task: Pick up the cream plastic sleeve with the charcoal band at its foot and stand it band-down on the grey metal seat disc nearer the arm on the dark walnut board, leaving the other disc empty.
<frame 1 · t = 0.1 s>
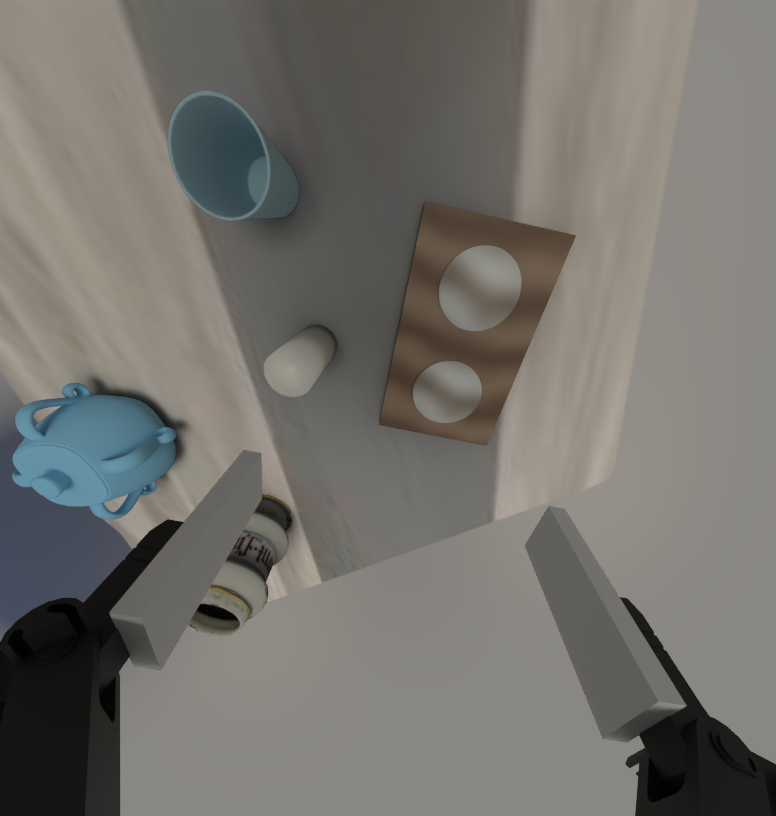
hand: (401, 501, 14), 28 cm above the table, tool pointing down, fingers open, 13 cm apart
cup: (274, 187, 32), on the table
seat board: (459, 342, 38), on the table
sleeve: (318, 344, 39), on the table
decorative pot: (136, 428, 48), on the table
apothecary jar: (266, 513, 55), on the table
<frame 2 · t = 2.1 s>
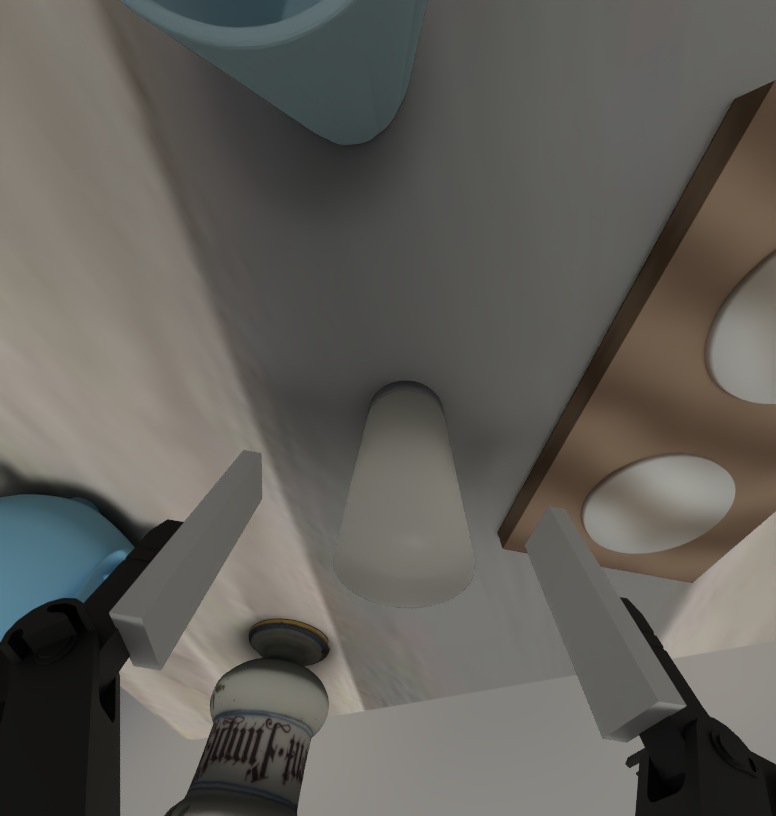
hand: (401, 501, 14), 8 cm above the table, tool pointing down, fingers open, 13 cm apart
cup: (346, 63, 12), on the table
seat board: (696, 415, 19), on the table
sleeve: (405, 414, 20), on the table
decorative pot: (81, 532, 29), on the table
apothecary jar: (290, 638, 36), on the table
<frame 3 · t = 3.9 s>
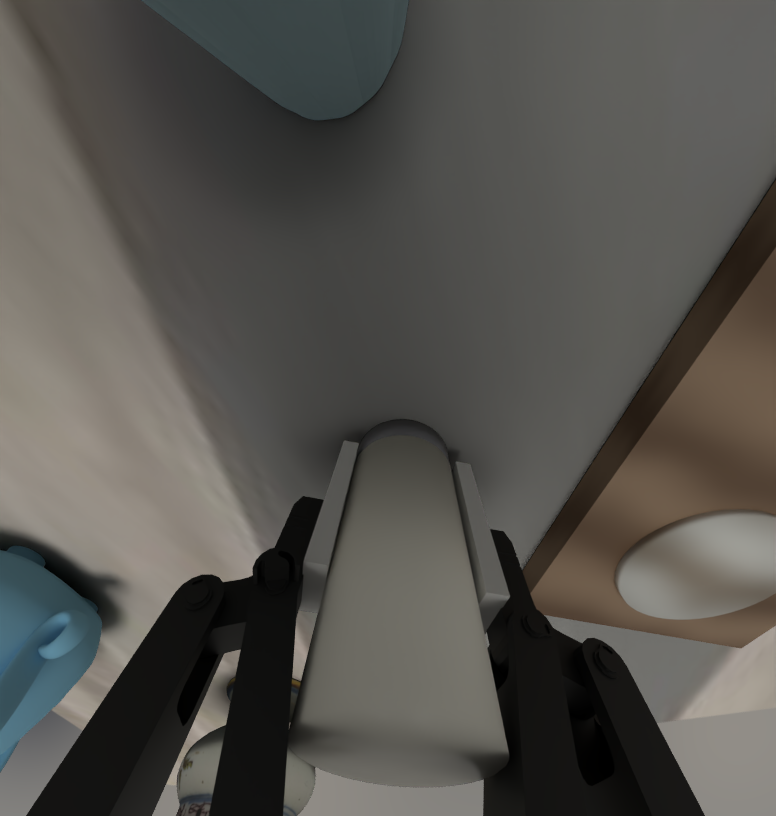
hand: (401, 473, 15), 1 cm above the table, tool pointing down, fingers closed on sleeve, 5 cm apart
cup: (318, 5, 9), on the table
seat board: (759, 461, 15), on the table
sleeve: (402, 458, 16), on the table, touching gripper
decorative pot: (28, 582, 25), on the table
apothecary jar: (274, 691, 32), on the table
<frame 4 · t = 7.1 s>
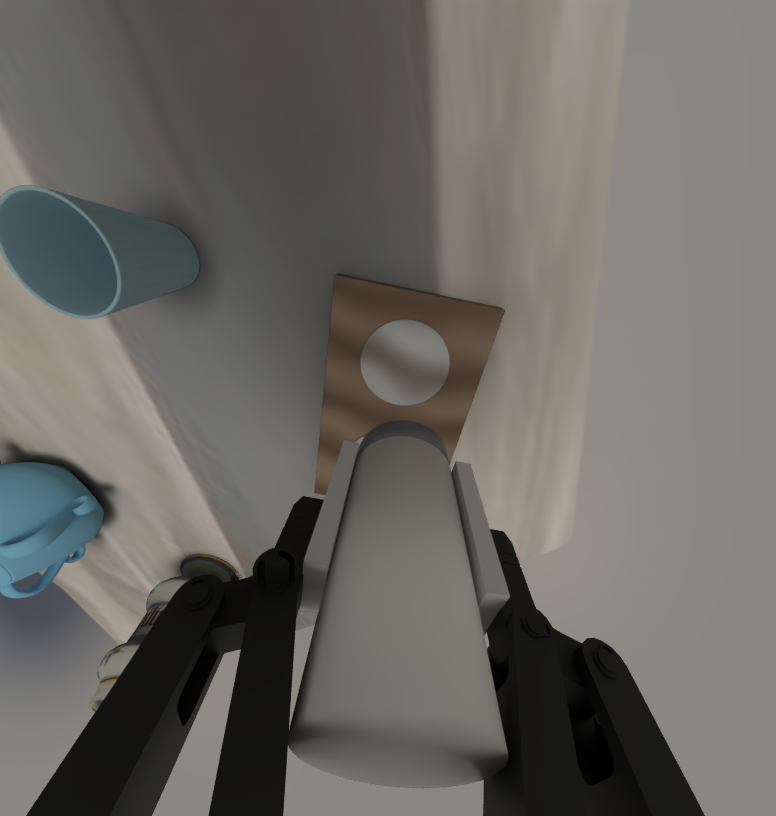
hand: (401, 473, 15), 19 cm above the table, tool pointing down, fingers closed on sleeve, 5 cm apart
cup: (172, 256, 29), on the table
seat board: (393, 411, 35), on the table
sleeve: (402, 459, 17), point 17 cm above the table, touching gripper
decorative pot: (62, 490, 44), on the table
apothecary jar: (211, 571, 52), on the table
when the fingers open (4 cm above the table, at t = 10.4 s): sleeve stays where it is, resting on seat board.
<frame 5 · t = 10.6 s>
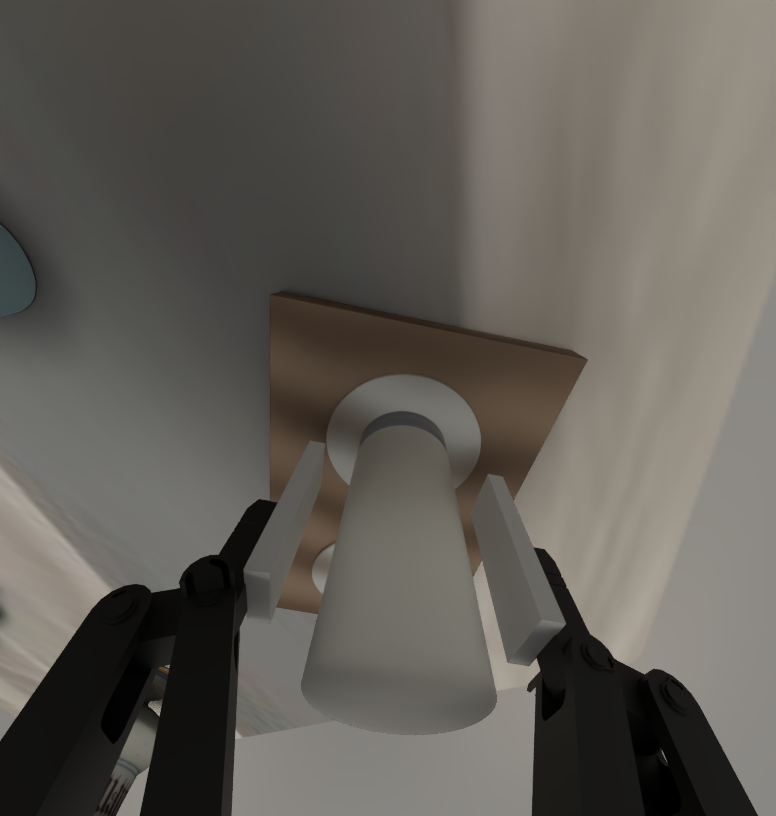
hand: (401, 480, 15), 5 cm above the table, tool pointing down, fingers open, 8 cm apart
seat board: (384, 502, 22), on the table
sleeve: (402, 448, 17), point 2 cm above the table, touching seat board
apothecary jar: (147, 674, 39), on the table
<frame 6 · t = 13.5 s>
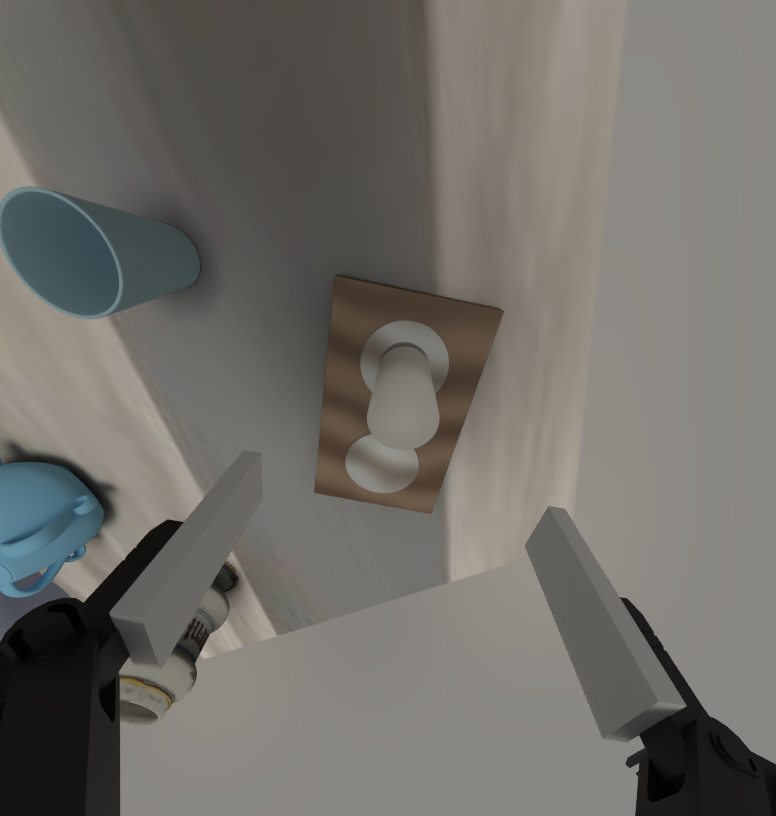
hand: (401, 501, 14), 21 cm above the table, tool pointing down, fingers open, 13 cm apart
cup: (173, 257, 29), on the table
seat board: (392, 411, 35), on the table
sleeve: (404, 366, 30), point 2 cm above the table, touching seat board
decorative pot: (62, 490, 45), on the table
apothecary jar: (211, 571, 52), on the table
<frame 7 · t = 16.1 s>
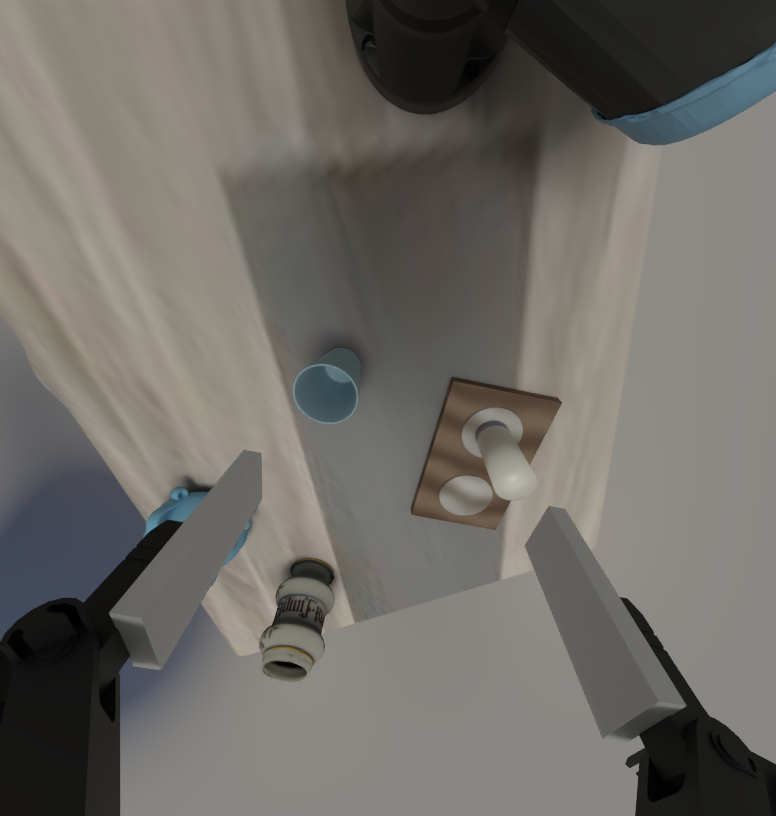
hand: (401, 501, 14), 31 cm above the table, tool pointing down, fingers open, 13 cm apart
cup: (342, 365, 43), on the table
seat board: (475, 459, 50), on the table
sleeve: (491, 434, 45), point 2 cm above the table, touching seat board
decorative pot: (214, 511, 59), on the table
apothecary jar: (313, 571, 67), on the table
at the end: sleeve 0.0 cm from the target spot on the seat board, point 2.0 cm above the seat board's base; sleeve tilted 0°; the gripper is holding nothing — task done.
